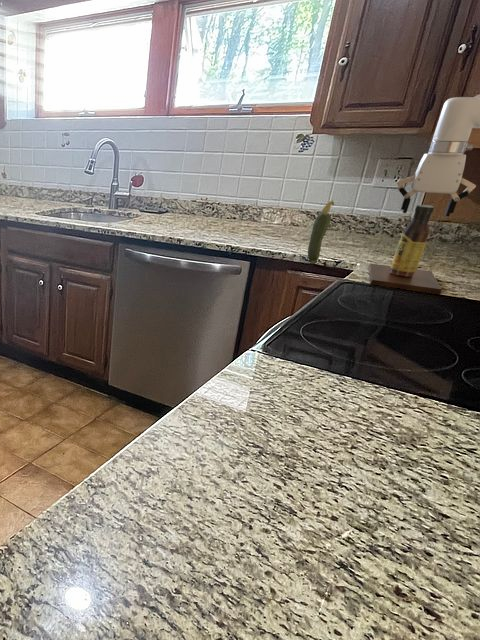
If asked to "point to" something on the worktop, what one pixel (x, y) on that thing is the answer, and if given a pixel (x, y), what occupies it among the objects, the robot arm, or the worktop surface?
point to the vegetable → (319, 233)
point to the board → (404, 279)
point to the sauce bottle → (412, 243)
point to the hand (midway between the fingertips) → (425, 214)
